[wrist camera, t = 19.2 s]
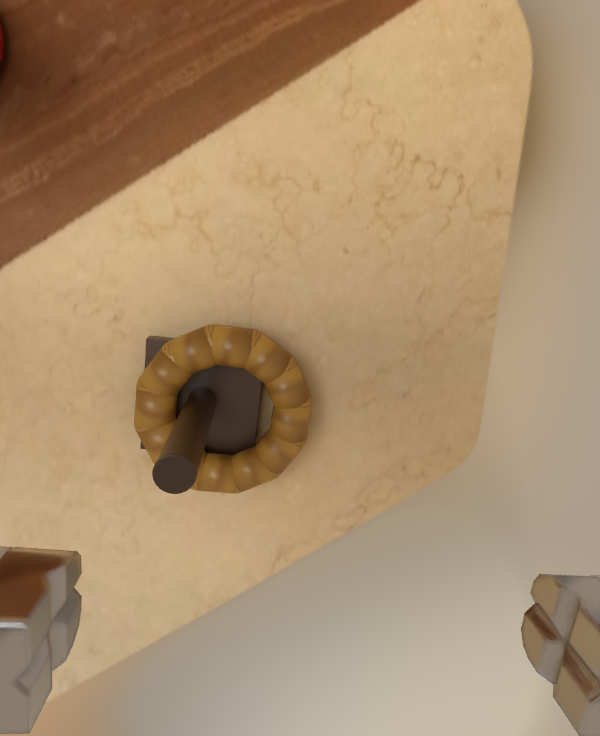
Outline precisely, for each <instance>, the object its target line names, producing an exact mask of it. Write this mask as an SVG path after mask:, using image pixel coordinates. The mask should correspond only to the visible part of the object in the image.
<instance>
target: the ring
mask: <svg viewBox="0 0 600 736" xmlns="http://www.w3.org/2000/svg"><path fill="white" fill-rule="evenodd" d="M215 365H219V366H228V367H236V368H243V369H245V370H246V371H247V372H249V373H250V374H252V375H253V376H254V377H256V378H257V379H259V380H260V381H261V382H263V383H264V385H265V387H266V389H267V392H268V394H269V396H270V398H271V401H272V403H273V411H272V419H271V426H270V428H269V430H268V431H267V432H266V433H265V435H264V436H263V437H262V438H261V440H260V441H259V442H258V443H257V445H256V446H253V447H251V448H249V449H246V450H244V451H241V452H239V453H236V454H234V455H228V454H217V453H207V452H206V451H204V452H203V456H202V459H201V463H200V467H199V471H198V474H197V478H196V481H195V483H194V485H193V486H192V487H191V489H193V490H198V491H210V492H222V493H240V492H243V491H245V490H248V489H250V488H253V487H255V486H257V485H260V484H262V483H265V482H267V481H270V480H272V479H274V478H276V477H278V476H279V475H280V474H281V473H282V472H283V470H284V469H285V468H286V467H287V466H288V464H289V463H290V462H291V461H292V459H293V458H294V457H295V456H296V455H297V453H298V452H299V451H300V450H301V449H302V447H303V446H304V444H305V442H306V439H307V433H308V426H309V420H310V414H311V407H312V398H311V395H310V392H309V390H308V387H307V385H306V382H305V380H304V378H303V375H302V373H301V370H300V368H299V365H298V363H297V361H296V360H295V358H294V357H293V356H292V355H291V354H289V353H288V352H287V351H285V350H284V349H283V348H281V347H280V346H279V345H277V344H276V343H275V342H273V341H272V340H271V339H269V338H268V337H267V336H265V335H264V334H263V333H261V332H259V331H257V330H253V329H245V328H238V327H230V326H222V325H207V326H204V327H202V328H199V329H197V330H194V331H192V332H189V333H187V334H185V335H182V336H180V337H177V338H175V339H172V340H170V341H168V342H167V343H165V344H164V345H163V346H162V348H161V349H160V350H159V352H158V353H157V354H156V356H155V357H154V358H153V360H152V361H151V362H150V364H149V365H148V367H147V368H146V369H145V371H144V372H143V373H142V375H141V376H140V378H139V379H138V382H137V388H136V403H135V418H134V425H135V429H136V431H137V433H138V435H139V437H140V439H141V441H142V443H143V444H144V446H145V448H146V450H147V452H148V454H149V456H150V457H151V459H152V461H153V463H154V464H155V463H156V461H157V459H158V457H159V455H160V453H161V451H162V449H163V447H164V445H165V443H166V441H167V439H168V437H169V435H170V433H171V430H172V428H173V426H174V424H175V422H176V420H177V419H176V407H177V396H178V393H179V392H180V391H181V389H182V388H183V387H184V385H185V384H186V383H187V381H188V380H189V379H190V377H191V376H192V375H193V374H196V373H198V372H201V371H203V370H206V369H208V368H211V367H213V366H215Z"/></svg>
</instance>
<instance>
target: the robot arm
mask: <svg viewBox="0 0 600 736" xmlns="http://www.w3.org/2000/svg"><path fill="white" fill-rule="evenodd" d="M81 573H82V572H81V555H80V554H79V553H78V552H77V551H65V550H51V549H36V548H22V547H15V548H13V547H4V546H0V734H20V733H21V734H22V733H30V732H31V730H32V728H33V726H34V724H35V721H36V720H37V718H38V716H39V714H40V712H41V710H42V707H43V705H44V703H45V701H46V699H47V697H48V695H49V693H50V691H51V689H52V671H53V670H54V669H56V668H57V667H58V666H60V665H61V664H62V663H64V662H65V661H66V659H67V656H68V654H69V652H70V650H71V648H72V646H73V643H74V640H75V636H76V633H77V630H78V626H79V621H80V614H81V595H80V594H79V593H78V592H77V590H76V589H75V588H74V586H75V584H76V582H77V581H78V579H79V577H80V575H81ZM530 593H531V595H532V597H533V600H534V601H535V604H534V605H533V606H532V607H531V608H530V609H529V610H527V611H526V612H525V614H524V618H523V623H522V627H521V632H522V640H523V646H524V649H525V651H526V654H527V657H528V659H529V661H530V662H531V664H532V665H533V667H534V668H535V670H536V672H537V673H539V674H540V675H541V676H543V677H544V678H546V679H547V680H548V681H549V682H551V683H552V684H553V697H554V699H555V700H556V702H557V703H558V705H559V706H560V708H561V709H562V711H563V712H564V713H565V715H566V717H567V718H568V720H569V721H570V723H571V724H572V726H573V727H574V729H575V730H576V732H577V733H578V735H579V736H600V575H591V576H574V575H551V574H539V576H538V577H537V578H536V579H535V580H534V582H533V585H532V588H531V592H530Z"/></svg>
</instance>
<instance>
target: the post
mask: <svg viewBox="0 0 600 736" xmlns="http://www.w3.org/2000/svg"><path fill="white" fill-rule="evenodd" d="M172 339H175V338H166V337H157V336H149V337H148V338H147V339H146V356H145V369H146V368H147V367H148V365H149V364H150V362H151V361H152V360H153V358H154V357H155V356H156V354H157V353H158V352H159V350H160V349H161V348H162V346H163V345H164V344H165V343H167V342H168V341H170V340H172ZM261 389H262V382H261V381H260V380H259V379H257V378H256V377H254V376H253V375H252V374H250V373H249V372H247V371H246V370H245V369H243V368H236V367H228V366H219V365H215V366H213V367H211V368H208V369H206V370H203V371H201V372H198V373H196V374H193V375H192V376H191V377H190V379H189V380H188V381H187V383H186V384H185V385H184V387H183V388H182V389H181V391H180V392H179V393H178V396H177V407H176V419H177V420H176V422H175V424H174V426H173V428H172V430H171V433H170V435H169V437H168V439H167V441H166V443H165V445H164V447H163V449H162V451H161V453H160V455H159V457H158V459H157V461H156V463H155V465H154V467H153V472H152V475H153V479H154V482H155V484H156V485H157V486H158V487H159V488H160V489H161V490H163V491H164V492H167V493H171V494H179V493H183V492H185V491H187V490H189V489H190V488H191V487H192V486H193V485H194V483H195V481H196V478H197V474H198V471H199V467H200V463H201V459H202V456H203V452H204V451H206V452H207V453H217V454H228V455H234V454H236V453H239V452H241V451H244V450H246V449H249V448H251V447H253V446H255V441H256V433H257V424H258V415H259V406H260V398H261ZM141 449H146V448H145V446H144V444H143V443H142V441H141Z"/></svg>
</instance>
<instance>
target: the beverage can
mask: <svg viewBox="0 0 600 736" xmlns="http://www.w3.org/2000/svg"><path fill="white" fill-rule="evenodd" d="M2 55H3V33H2V27H1V24H0V63H1V60H2Z"/></svg>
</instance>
